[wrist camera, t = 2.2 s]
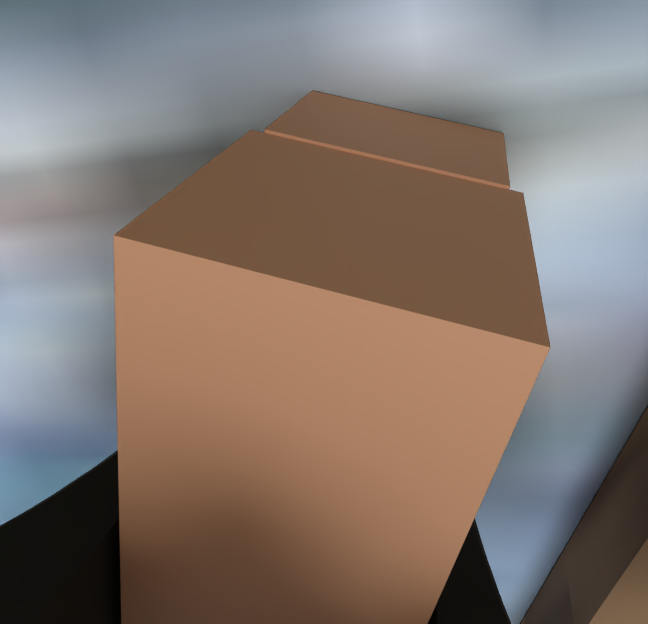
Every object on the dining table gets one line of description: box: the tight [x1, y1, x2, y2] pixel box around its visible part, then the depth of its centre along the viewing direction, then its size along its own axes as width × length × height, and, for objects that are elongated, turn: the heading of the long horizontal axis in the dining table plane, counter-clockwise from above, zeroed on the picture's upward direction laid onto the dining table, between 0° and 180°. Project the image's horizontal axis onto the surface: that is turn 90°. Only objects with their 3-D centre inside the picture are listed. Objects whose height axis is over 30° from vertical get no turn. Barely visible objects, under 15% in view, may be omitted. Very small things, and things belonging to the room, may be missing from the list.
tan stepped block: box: [114, 91, 550, 624], centre depth 12 cm, size 12×4×7 cm, turn 171°
